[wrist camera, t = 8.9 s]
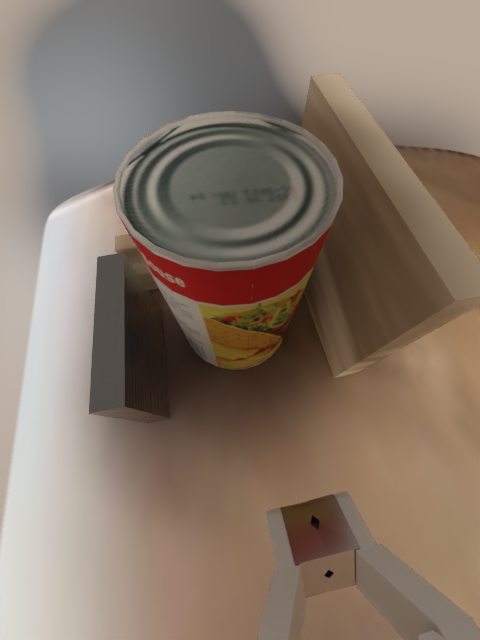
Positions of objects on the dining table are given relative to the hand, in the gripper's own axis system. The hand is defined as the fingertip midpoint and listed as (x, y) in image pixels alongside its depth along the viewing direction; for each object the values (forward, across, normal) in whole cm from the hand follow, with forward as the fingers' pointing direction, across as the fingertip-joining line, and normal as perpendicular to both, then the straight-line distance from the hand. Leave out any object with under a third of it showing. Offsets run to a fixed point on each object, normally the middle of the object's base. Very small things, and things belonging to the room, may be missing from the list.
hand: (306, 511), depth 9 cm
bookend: (+11, +7, -2) cm, 13 cm away
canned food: (+12, +1, -3) cm, 13 cm away
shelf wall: (+14, +1, -4) cm, 14 cm away
